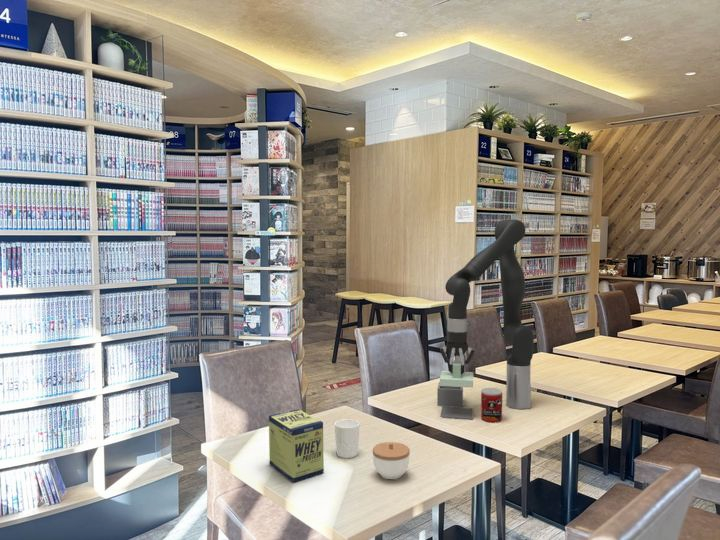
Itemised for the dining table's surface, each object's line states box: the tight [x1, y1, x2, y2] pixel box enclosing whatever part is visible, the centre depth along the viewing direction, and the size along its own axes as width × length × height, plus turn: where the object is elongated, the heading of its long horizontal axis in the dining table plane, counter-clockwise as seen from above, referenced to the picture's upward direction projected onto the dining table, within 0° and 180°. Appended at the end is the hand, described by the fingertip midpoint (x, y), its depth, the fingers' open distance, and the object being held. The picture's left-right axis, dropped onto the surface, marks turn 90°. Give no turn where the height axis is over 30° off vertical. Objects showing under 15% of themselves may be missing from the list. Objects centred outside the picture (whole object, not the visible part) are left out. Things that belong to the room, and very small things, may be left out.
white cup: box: [334, 418, 360, 459], centre depth 170 cm, size 8×8×10 cm
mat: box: [439, 406, 474, 421], centre depth 207 cm, size 12×12×1 cm
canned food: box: [480, 387, 503, 424], centre depth 200 cm, size 8×8×11 cm
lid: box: [439, 359, 474, 388], centre depth 206 cm, size 12×12×8 cm
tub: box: [436, 381, 464, 408], centre depth 220 cm, size 10×10×7 cm
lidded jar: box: [372, 441, 410, 480], centre depth 155 cm, size 11×11×9 cm
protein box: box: [268, 408, 325, 484], centre depth 159 cm, size 10×16×16 cm
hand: (456, 373), depth 206 cm, fingers closed on lid, 3 cm apart
